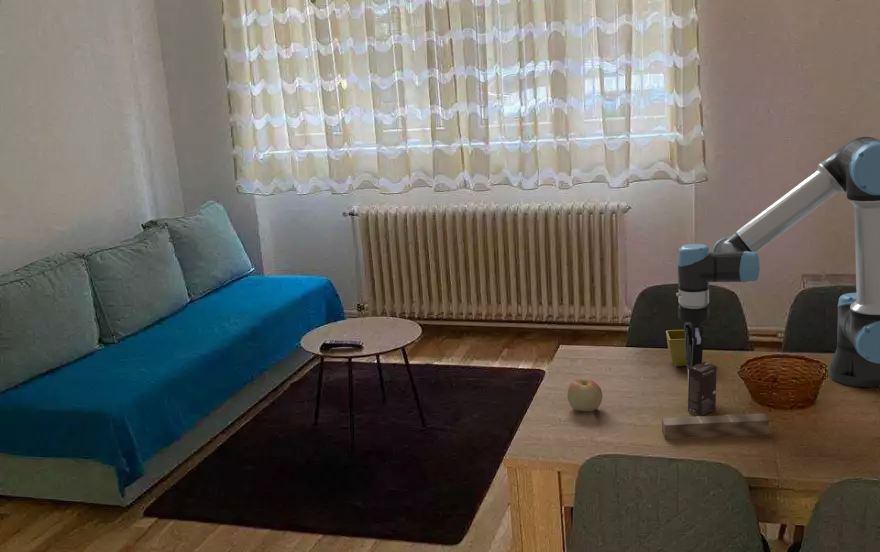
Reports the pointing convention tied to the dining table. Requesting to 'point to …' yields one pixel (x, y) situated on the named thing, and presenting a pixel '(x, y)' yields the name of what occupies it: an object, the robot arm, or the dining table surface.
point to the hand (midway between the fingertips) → (693, 390)
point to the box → (702, 388)
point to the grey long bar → (715, 426)
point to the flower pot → (677, 346)
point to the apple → (584, 395)
